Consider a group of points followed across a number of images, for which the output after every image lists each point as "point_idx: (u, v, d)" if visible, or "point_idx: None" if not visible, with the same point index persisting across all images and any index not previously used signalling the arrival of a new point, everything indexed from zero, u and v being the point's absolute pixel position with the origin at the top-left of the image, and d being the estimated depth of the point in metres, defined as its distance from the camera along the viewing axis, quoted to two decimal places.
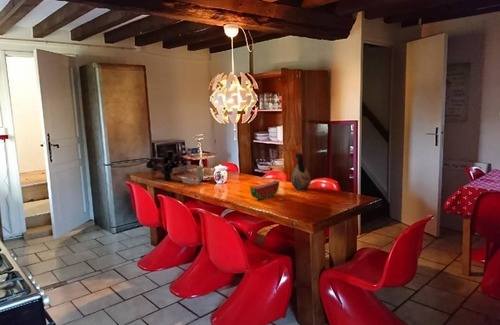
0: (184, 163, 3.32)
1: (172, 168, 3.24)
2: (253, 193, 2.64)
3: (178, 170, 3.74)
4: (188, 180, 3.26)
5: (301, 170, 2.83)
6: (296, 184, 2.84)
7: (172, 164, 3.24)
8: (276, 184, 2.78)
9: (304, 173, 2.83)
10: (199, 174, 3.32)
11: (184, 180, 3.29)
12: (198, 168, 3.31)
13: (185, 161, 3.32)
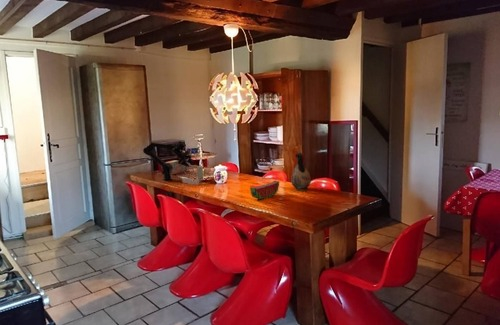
0: (189, 161, 3.40)
1: (181, 164, 3.30)
2: (253, 193, 2.64)
3: (178, 170, 3.74)
4: (188, 180, 3.26)
5: (301, 170, 2.83)
6: (296, 184, 2.84)
7: (183, 161, 3.29)
8: (276, 184, 2.78)
9: (304, 173, 2.83)
10: (199, 174, 3.32)
11: (184, 180, 3.29)
12: (198, 168, 3.31)
13: None
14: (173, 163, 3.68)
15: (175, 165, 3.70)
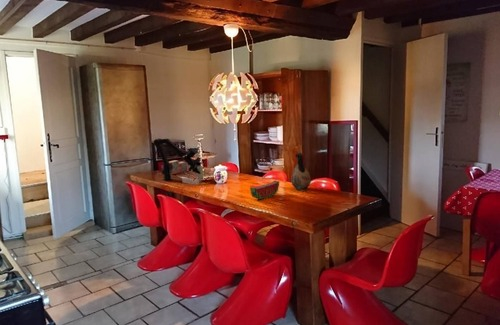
0: None
1: (192, 171, 3.30)
2: (253, 193, 2.64)
3: (178, 170, 3.74)
4: (188, 180, 3.26)
5: (301, 170, 2.83)
6: (296, 184, 2.84)
7: (194, 168, 3.29)
8: (276, 184, 2.78)
9: (304, 173, 2.83)
10: (199, 174, 3.32)
11: (184, 180, 3.29)
12: (198, 168, 3.31)
13: None
14: (173, 163, 3.69)
15: (175, 165, 3.71)
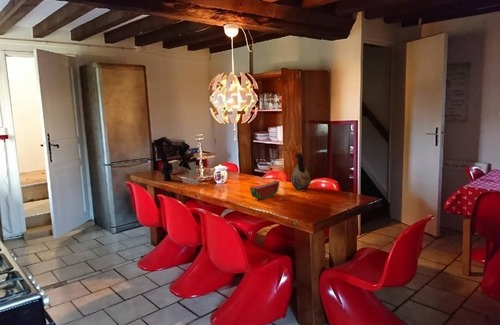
0: None
1: (183, 166, 3.21)
2: (253, 193, 2.64)
3: (178, 170, 3.75)
4: (188, 180, 3.26)
5: (301, 170, 2.83)
6: (296, 184, 2.84)
7: (185, 164, 3.19)
8: (276, 184, 2.78)
9: (304, 173, 2.83)
10: (190, 170, 3.20)
11: (184, 180, 3.29)
12: (189, 164, 3.20)
13: None
14: (173, 163, 3.69)
15: (175, 165, 3.71)
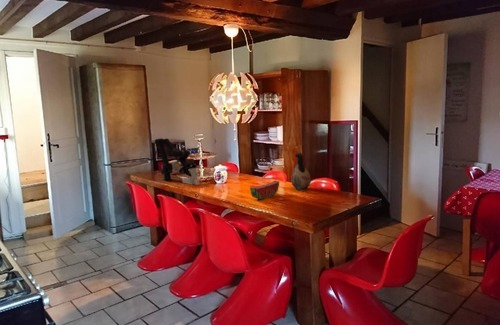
0: None
1: None
2: (253, 193, 2.64)
3: (178, 170, 3.75)
4: (188, 180, 3.26)
5: (301, 170, 2.83)
6: (296, 184, 2.84)
7: (185, 170, 3.20)
8: (276, 184, 2.78)
9: (304, 173, 2.83)
10: (190, 177, 3.22)
11: (184, 180, 3.29)
12: (189, 170, 3.21)
13: None
14: (173, 163, 3.69)
15: (175, 165, 3.71)
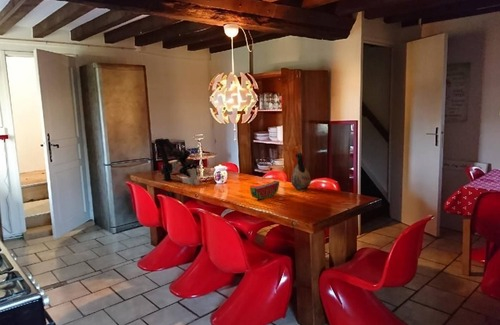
0: None
1: None
2: (253, 193, 2.64)
3: (178, 170, 3.75)
4: (188, 180, 3.26)
5: (301, 170, 2.83)
6: (296, 184, 2.84)
7: (184, 171, 3.19)
8: (276, 184, 2.78)
9: (304, 173, 2.83)
10: (190, 177, 3.22)
11: (184, 180, 3.29)
12: (189, 171, 3.21)
13: (196, 169, 3.29)
14: (173, 163, 3.69)
15: (175, 165, 3.72)
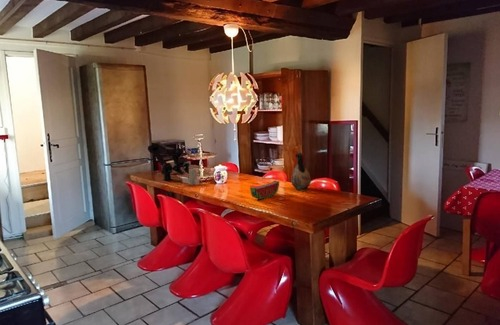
0: (186, 169, 3.34)
1: None
2: (253, 193, 2.64)
3: None
4: (188, 180, 3.26)
5: (301, 170, 2.83)
6: (296, 184, 2.84)
7: (177, 168, 3.24)
8: (276, 184, 2.78)
9: (304, 173, 2.83)
10: (190, 177, 3.22)
11: (184, 180, 3.29)
12: (189, 171, 3.21)
13: (188, 168, 3.35)
14: (173, 163, 3.70)
15: None
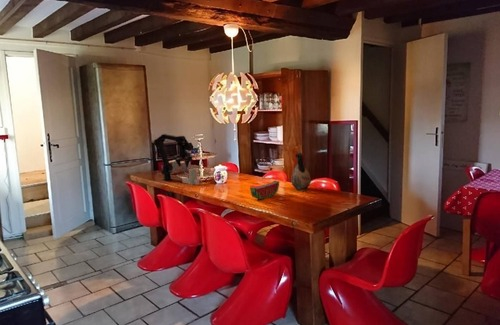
0: (179, 161, 3.36)
1: (186, 161, 3.27)
2: (253, 193, 2.64)
3: (178, 170, 3.76)
4: (188, 180, 3.26)
5: (301, 170, 2.83)
6: (296, 184, 2.84)
7: None
8: (276, 184, 2.78)
9: (304, 173, 2.83)
10: (190, 177, 3.22)
11: (184, 180, 3.29)
12: (189, 171, 3.21)
13: (179, 161, 3.38)
14: (173, 163, 3.70)
15: (175, 165, 3.72)
